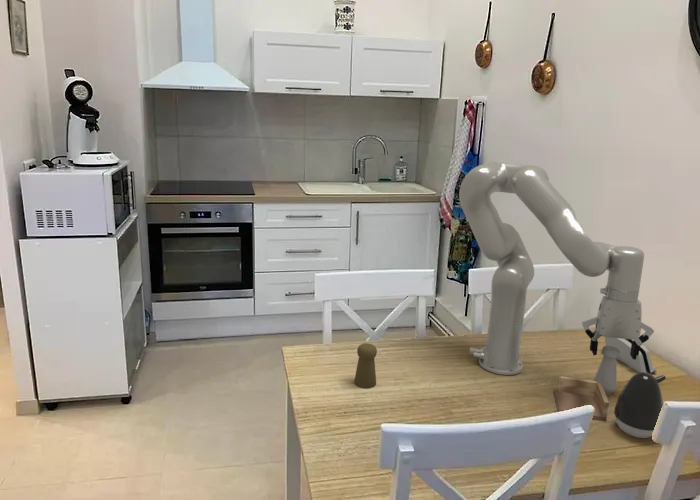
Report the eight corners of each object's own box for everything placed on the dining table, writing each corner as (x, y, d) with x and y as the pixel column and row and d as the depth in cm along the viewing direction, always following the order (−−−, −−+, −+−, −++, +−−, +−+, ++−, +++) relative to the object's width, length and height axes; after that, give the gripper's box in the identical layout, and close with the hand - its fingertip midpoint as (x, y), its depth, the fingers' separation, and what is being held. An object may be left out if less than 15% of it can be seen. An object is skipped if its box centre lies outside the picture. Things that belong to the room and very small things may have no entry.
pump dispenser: (670, 442, 125) (683, 382, 122) (631, 446, 123) (643, 385, 119) (638, 418, 135) (650, 362, 131) (602, 421, 133) (612, 364, 129)
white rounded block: (658, 374, 159) (654, 345, 156) (644, 380, 158) (640, 351, 155) (618, 350, 175) (614, 323, 172) (605, 355, 174) (601, 328, 171)
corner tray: (558, 413, 135) (561, 395, 134) (553, 392, 146) (556, 375, 144) (605, 421, 133) (609, 402, 132) (597, 399, 143) (600, 381, 142)
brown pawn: (379, 380, 147) (382, 343, 145) (371, 390, 142) (373, 352, 139) (359, 375, 150) (361, 338, 147) (350, 385, 144) (352, 347, 142)
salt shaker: (592, 393, 146) (599, 349, 143) (591, 384, 151) (598, 341, 148) (615, 398, 144) (624, 353, 141) (614, 389, 149) (622, 345, 146)
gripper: (588, 295, 139) (581, 357, 143) (663, 302, 135) (653, 365, 139) (583, 287, 146) (576, 346, 150) (654, 292, 142) (644, 353, 146)
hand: (613, 355), depth 144 cm, fingers open, 9 cm apart
